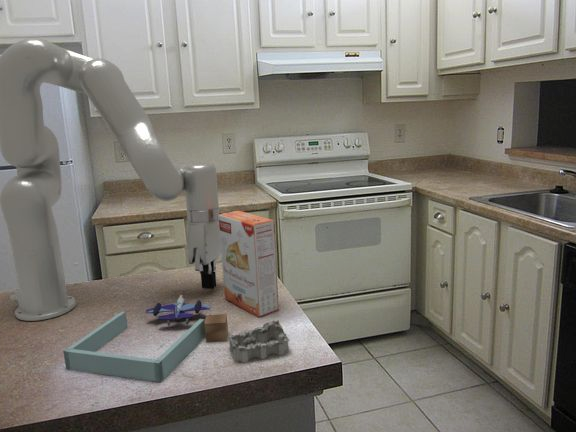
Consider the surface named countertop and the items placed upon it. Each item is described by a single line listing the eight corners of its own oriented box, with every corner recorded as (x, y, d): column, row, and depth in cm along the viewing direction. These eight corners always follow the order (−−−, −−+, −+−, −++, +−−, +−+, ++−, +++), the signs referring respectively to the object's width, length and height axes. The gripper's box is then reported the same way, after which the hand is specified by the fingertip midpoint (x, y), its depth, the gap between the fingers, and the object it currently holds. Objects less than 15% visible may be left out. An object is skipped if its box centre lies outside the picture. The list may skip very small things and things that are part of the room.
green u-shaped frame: (66, 369, 85) (63, 351, 85) (123, 326, 101) (121, 311, 101) (160, 382, 80) (158, 363, 79) (205, 335, 96) (204, 319, 95)
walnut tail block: (206, 343, 93) (204, 323, 92) (208, 333, 97) (206, 315, 96) (226, 341, 93) (225, 322, 93) (228, 332, 97) (226, 313, 96)
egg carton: (281, 338, 94) (281, 318, 94) (292, 356, 87) (291, 335, 86) (227, 346, 92) (226, 326, 91) (233, 366, 85) (232, 344, 84)
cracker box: (223, 300, 113) (216, 213, 109) (244, 293, 117) (239, 209, 112) (257, 318, 103) (252, 223, 98) (279, 310, 106) (275, 218, 102)
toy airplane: (185, 300, 114) (184, 285, 114) (223, 315, 105) (222, 300, 104) (135, 319, 105) (133, 303, 104) (172, 338, 96) (170, 321, 95)
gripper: (203, 208, 123) (208, 276, 127) (173, 222, 109) (180, 298, 113) (230, 208, 121) (234, 278, 125) (203, 223, 107) (210, 300, 111)
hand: (209, 287), depth 119 cm, fingers closed
